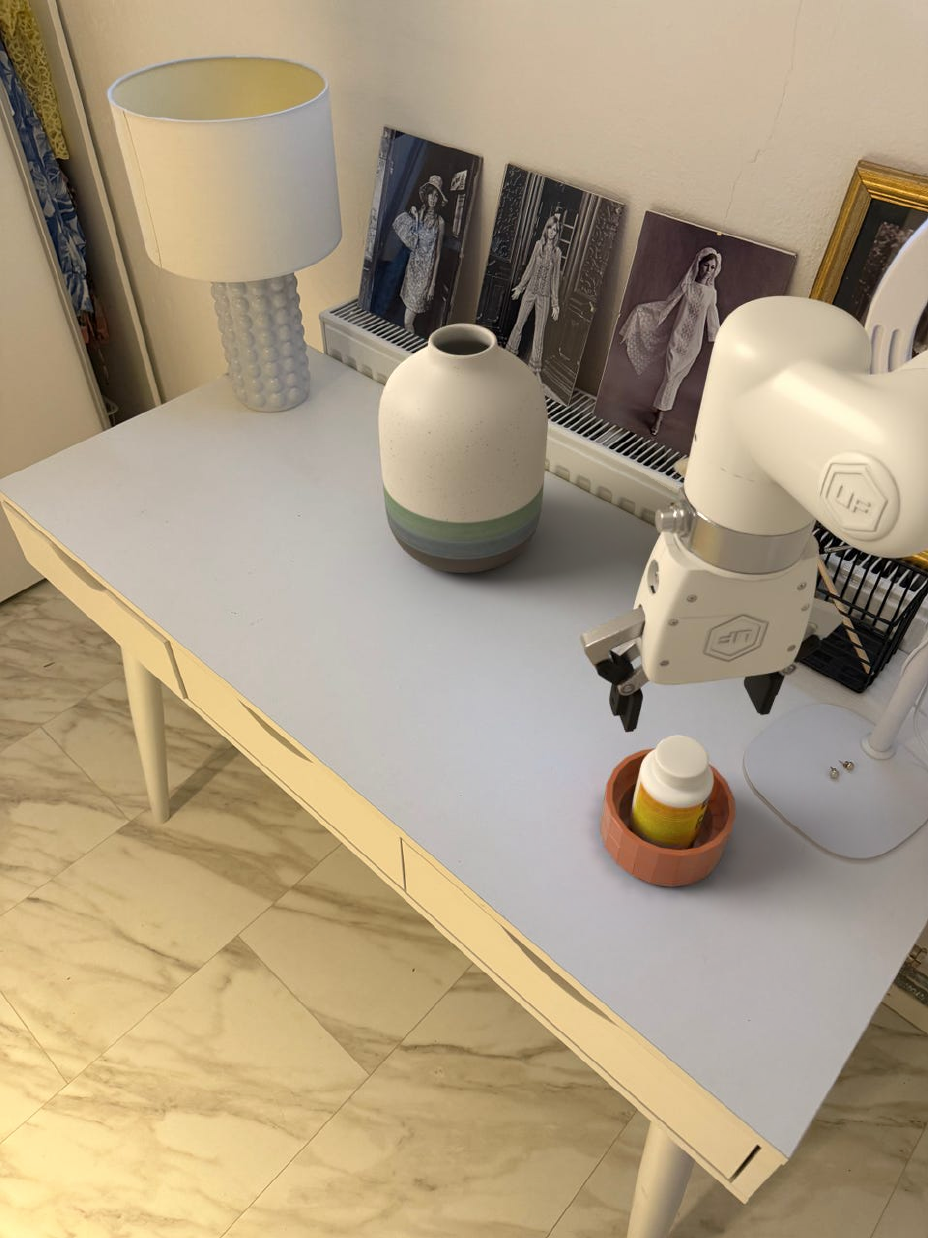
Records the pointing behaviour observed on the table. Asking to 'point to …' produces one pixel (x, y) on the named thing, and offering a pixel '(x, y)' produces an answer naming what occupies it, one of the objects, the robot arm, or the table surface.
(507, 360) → the vase
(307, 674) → the table surface
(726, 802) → the bowl
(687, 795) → the supplement bottle
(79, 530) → the table surface
